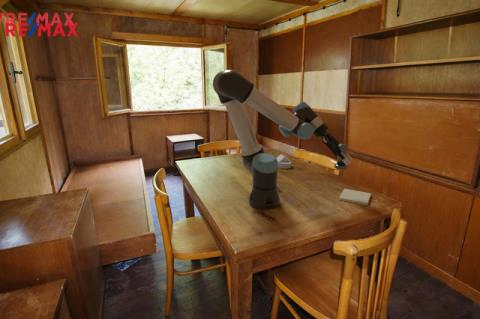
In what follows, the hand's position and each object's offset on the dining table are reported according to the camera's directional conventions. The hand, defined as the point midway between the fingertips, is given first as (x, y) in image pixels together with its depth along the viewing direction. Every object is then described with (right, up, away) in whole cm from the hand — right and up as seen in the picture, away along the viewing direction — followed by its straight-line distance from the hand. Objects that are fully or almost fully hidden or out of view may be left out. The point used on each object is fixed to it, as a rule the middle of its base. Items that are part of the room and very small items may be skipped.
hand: (349, 162), depth 134 cm
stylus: (-3, -3, +3) cm, 5 cm away
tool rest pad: (+4, -18, +2) cm, 18 cm away
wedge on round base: (-24, -3, +54) cm, 59 cm away
